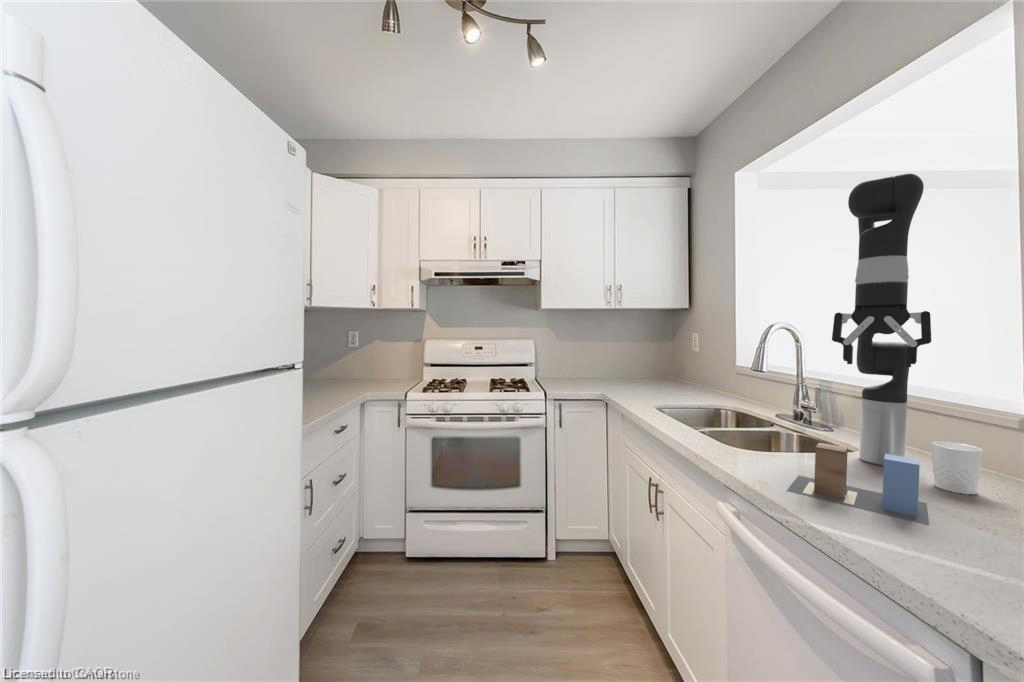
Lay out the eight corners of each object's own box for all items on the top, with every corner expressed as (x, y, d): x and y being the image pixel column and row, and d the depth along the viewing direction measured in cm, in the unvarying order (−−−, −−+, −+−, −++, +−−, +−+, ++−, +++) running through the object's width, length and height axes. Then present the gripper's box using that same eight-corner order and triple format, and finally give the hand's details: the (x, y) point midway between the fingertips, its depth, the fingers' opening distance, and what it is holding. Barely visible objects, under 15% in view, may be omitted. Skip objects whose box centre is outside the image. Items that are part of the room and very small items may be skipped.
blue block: (883, 501, 85) (885, 453, 85) (916, 508, 81) (919, 459, 81) (882, 508, 81) (884, 458, 81) (917, 516, 78) (919, 464, 78)
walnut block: (817, 486, 92) (819, 442, 92) (846, 492, 89) (847, 447, 89) (814, 492, 89) (815, 447, 89) (843, 499, 85) (845, 452, 85)
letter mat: (798, 477, 100) (798, 475, 100) (926, 505, 84) (926, 502, 84) (786, 493, 90) (786, 490, 90) (929, 528, 74) (929, 525, 74)
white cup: (939, 491, 92) (941, 447, 92) (924, 480, 99) (925, 439, 99) (989, 498, 88) (991, 453, 88) (969, 486, 95) (971, 444, 95)
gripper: (932, 281, 77) (929, 367, 77) (836, 286, 87) (834, 362, 87) (934, 277, 71) (930, 369, 72) (832, 283, 81) (829, 363, 82)
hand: (877, 365), depth 80 cm, fingers open, 8 cm apart
